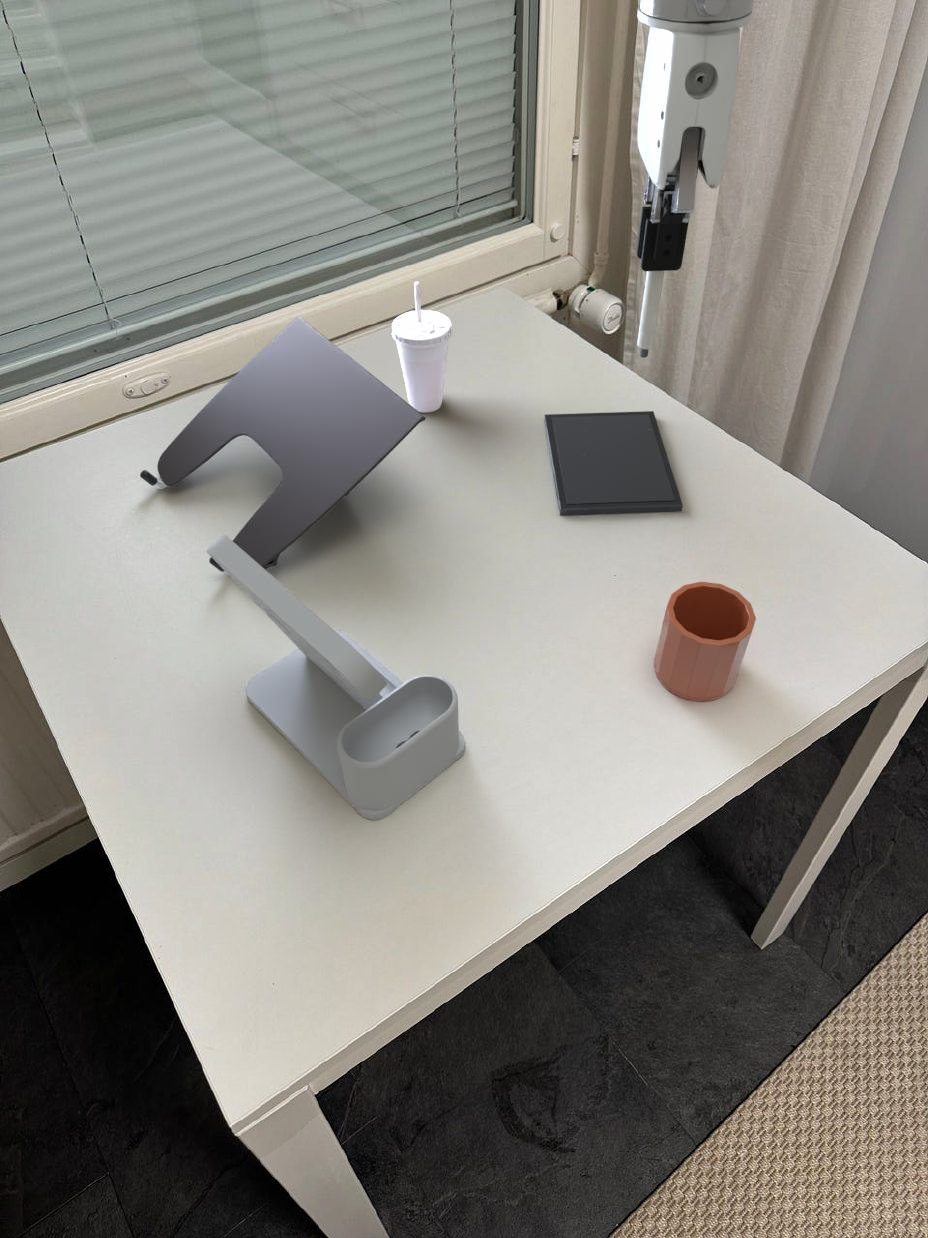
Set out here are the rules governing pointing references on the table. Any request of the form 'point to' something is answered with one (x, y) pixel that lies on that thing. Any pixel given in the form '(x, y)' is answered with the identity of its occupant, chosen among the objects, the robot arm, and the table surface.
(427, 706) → the phone holder
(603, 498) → the tablet
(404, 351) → the smoothie
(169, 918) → the table surface
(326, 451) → the laptop tray
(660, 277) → the stylus
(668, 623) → the pencil cup
